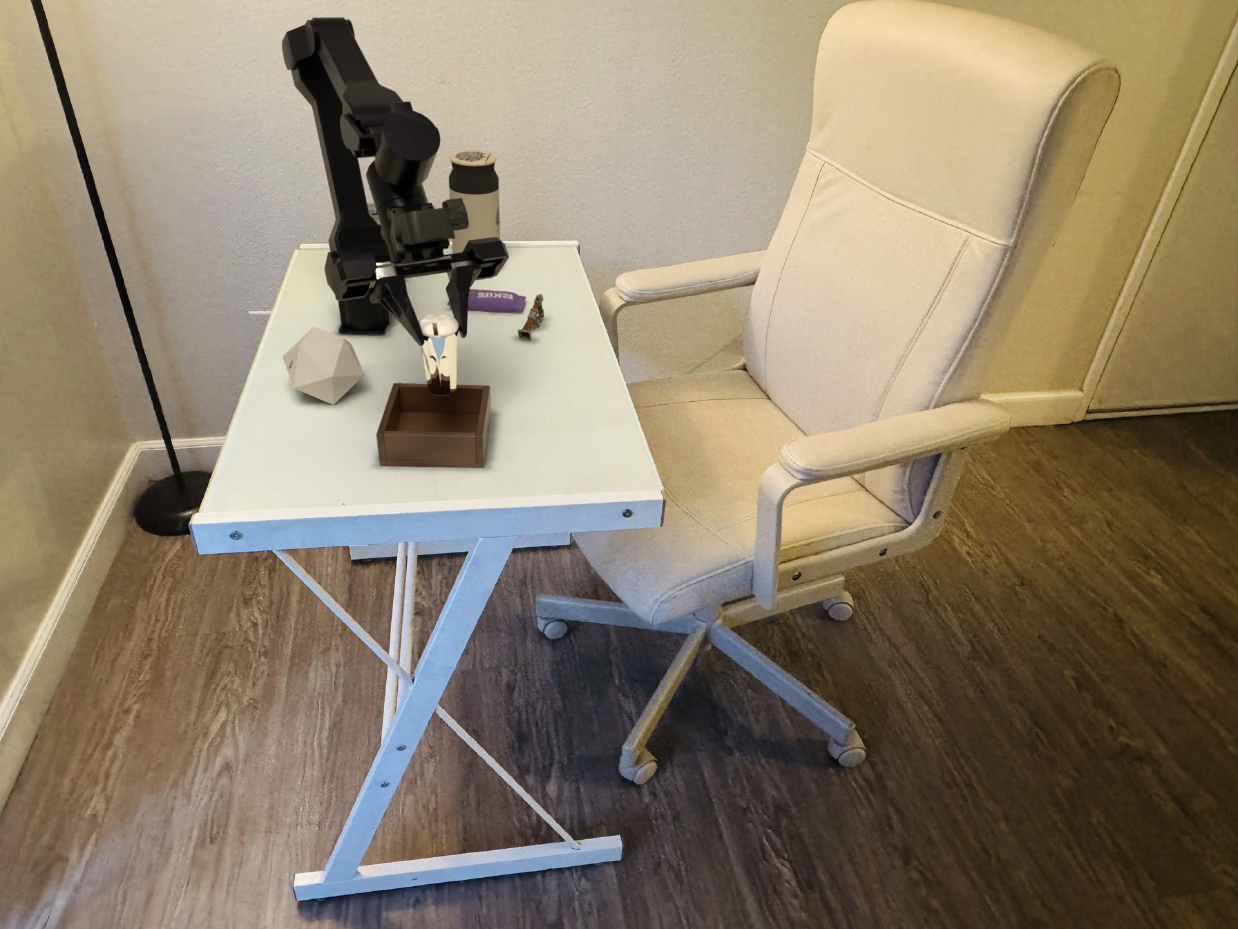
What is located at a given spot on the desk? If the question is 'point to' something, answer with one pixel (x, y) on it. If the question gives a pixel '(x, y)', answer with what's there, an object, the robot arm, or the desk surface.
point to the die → (323, 365)
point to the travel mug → (475, 195)
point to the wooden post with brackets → (532, 318)
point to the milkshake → (440, 352)
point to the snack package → (494, 301)
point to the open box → (435, 427)
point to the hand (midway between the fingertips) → (443, 340)
